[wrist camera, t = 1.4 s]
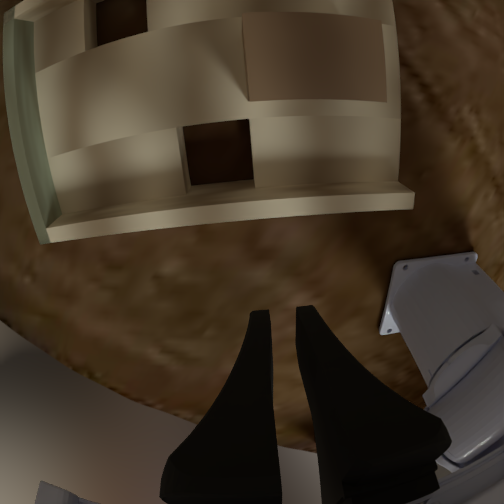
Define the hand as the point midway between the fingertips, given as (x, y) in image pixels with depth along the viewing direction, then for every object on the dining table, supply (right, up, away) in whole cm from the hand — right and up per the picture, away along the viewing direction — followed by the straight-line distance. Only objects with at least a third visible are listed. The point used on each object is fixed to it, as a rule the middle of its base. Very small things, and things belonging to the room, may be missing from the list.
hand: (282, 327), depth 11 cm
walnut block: (+1, +13, +2) cm, 13 cm away
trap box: (-4, +13, +4) cm, 14 cm away
